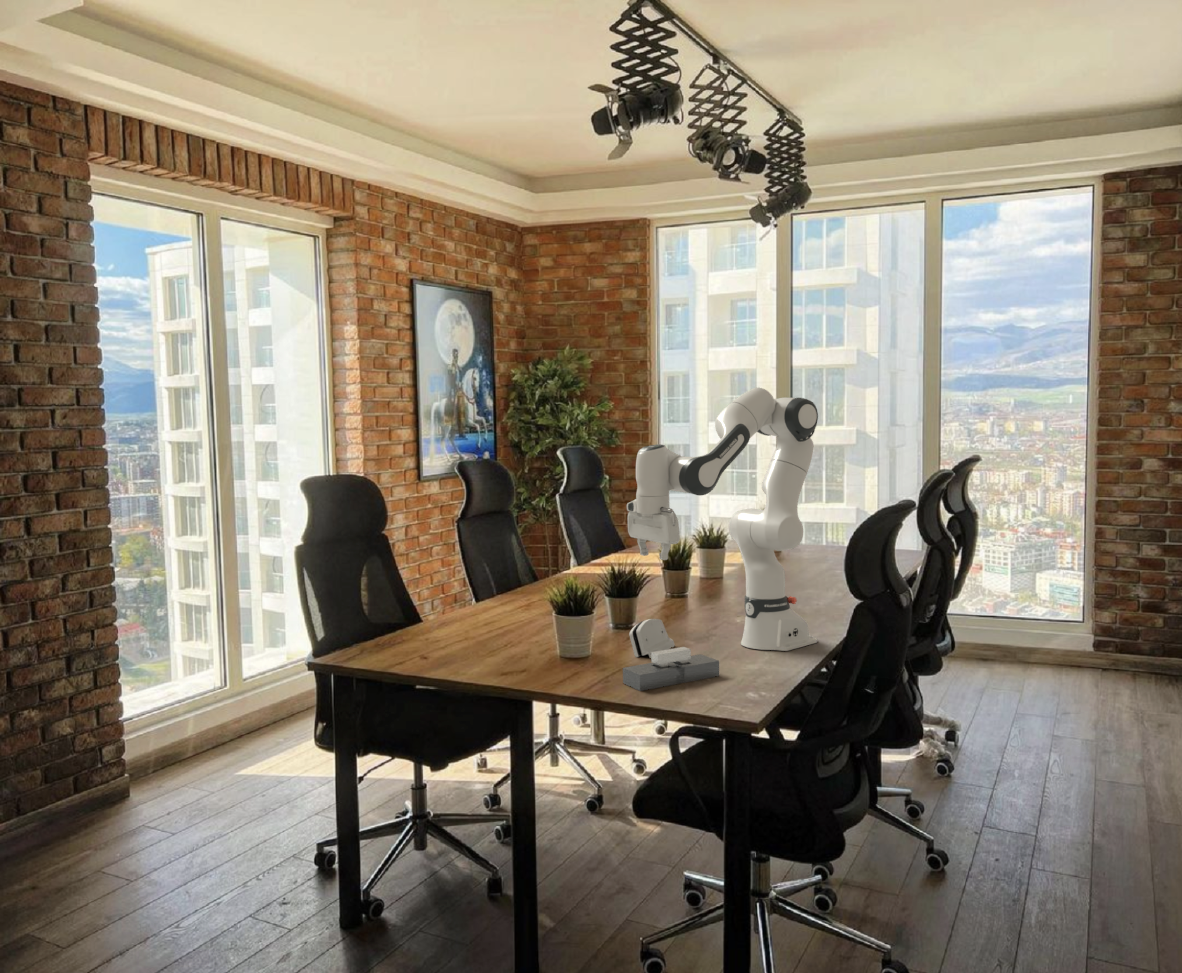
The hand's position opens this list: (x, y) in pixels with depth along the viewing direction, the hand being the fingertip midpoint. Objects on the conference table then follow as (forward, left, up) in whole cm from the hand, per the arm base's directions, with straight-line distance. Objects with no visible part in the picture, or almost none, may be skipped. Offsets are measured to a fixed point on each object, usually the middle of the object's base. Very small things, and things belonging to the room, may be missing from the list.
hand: (653, 557), depth 261 cm
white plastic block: (-7, -13, -29) cm, 33 cm away
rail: (+5, +15, -29) cm, 33 cm away
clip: (+5, +15, -29) cm, 33 cm away
